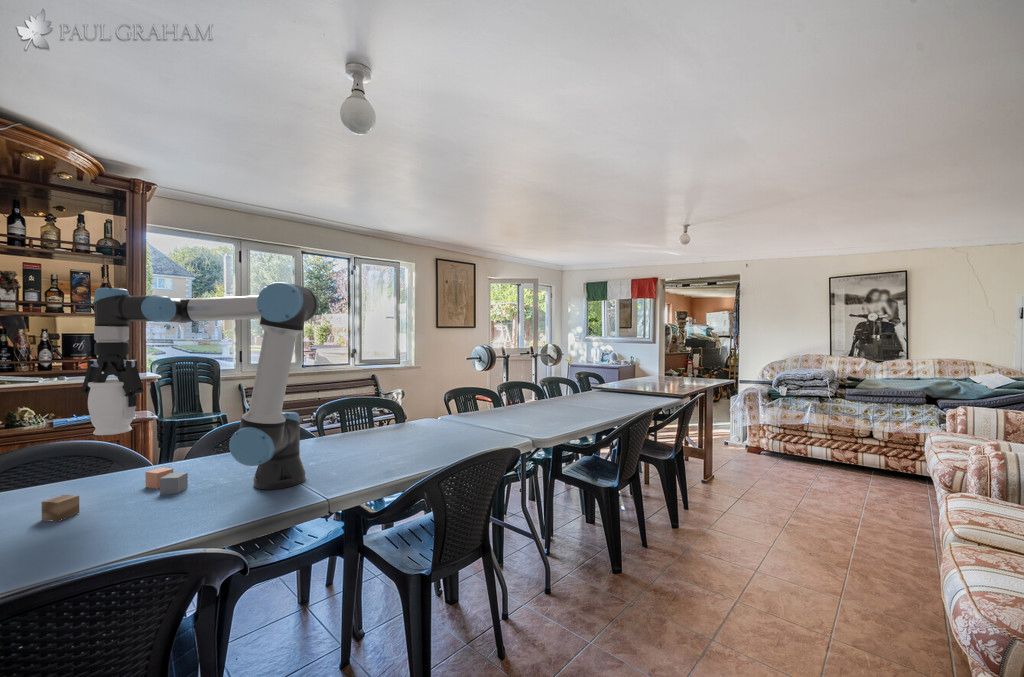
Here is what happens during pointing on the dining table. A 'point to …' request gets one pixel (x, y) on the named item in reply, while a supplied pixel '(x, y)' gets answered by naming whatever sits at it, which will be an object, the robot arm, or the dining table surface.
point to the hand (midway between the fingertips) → (112, 417)
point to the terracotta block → (156, 476)
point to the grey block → (173, 483)
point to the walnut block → (60, 507)
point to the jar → (108, 408)
